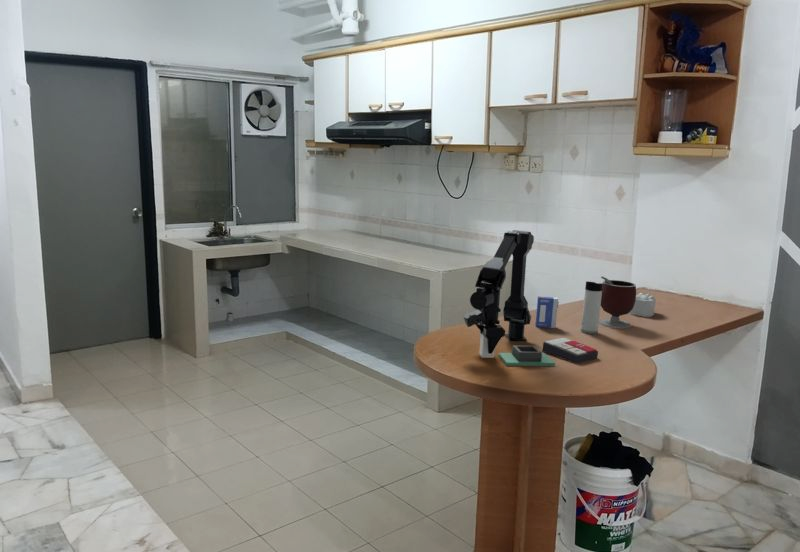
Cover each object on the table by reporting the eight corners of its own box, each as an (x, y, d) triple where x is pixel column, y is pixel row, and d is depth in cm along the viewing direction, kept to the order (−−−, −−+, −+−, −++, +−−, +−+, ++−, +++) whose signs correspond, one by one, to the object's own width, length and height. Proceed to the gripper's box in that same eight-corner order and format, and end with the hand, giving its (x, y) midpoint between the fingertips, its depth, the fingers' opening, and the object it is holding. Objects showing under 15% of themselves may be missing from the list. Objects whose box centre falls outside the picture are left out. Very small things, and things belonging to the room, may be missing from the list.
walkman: (536, 326, 260) (538, 297, 258) (535, 325, 263) (537, 295, 261) (556, 328, 260) (559, 298, 257) (555, 326, 262) (558, 296, 260)
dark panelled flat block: (578, 354, 216) (543, 339, 228) (576, 366, 217) (541, 351, 229) (599, 349, 222) (564, 335, 234) (597, 361, 223) (562, 347, 235)
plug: (479, 353, 222) (480, 331, 221) (492, 354, 223) (494, 332, 221) (482, 357, 218) (483, 335, 217) (495, 357, 219) (497, 335, 217)
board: (498, 355, 221) (499, 344, 220) (544, 356, 223) (545, 344, 222) (506, 365, 211) (507, 353, 210) (554, 365, 213) (556, 354, 212)
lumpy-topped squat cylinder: (624, 313, 289) (627, 294, 288) (633, 308, 300) (635, 289, 298) (649, 318, 284) (651, 298, 282) (657, 312, 294) (659, 293, 293)
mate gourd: (618, 319, 279) (623, 272, 275) (639, 328, 266) (645, 279, 262) (586, 320, 274) (591, 273, 270) (606, 329, 261) (612, 279, 257)
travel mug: (577, 331, 256) (582, 280, 252) (585, 328, 261) (590, 278, 257) (592, 335, 252) (597, 283, 248) (600, 332, 257) (605, 281, 253)
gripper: (460, 297, 225) (457, 341, 228) (472, 310, 207) (469, 358, 210) (492, 297, 226) (489, 341, 229) (507, 311, 208) (503, 358, 211)
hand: (487, 349), depth 220 cm, fingers open, 8 cm apart
